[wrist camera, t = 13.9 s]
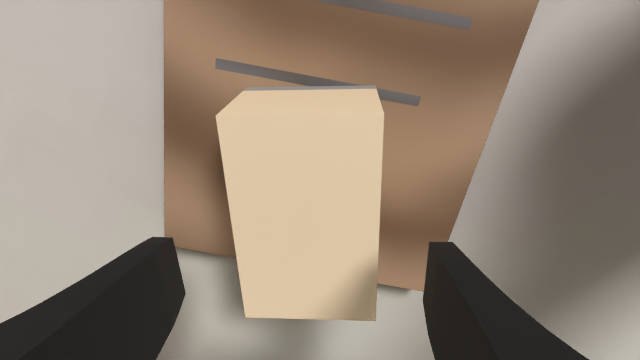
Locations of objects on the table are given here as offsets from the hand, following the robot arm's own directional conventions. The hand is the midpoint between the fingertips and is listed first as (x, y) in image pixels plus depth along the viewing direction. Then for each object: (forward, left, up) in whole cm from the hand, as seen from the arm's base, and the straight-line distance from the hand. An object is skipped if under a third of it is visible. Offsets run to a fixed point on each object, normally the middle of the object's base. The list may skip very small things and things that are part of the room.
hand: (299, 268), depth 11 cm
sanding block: (0, 0, -6) cm, 6 cm away
